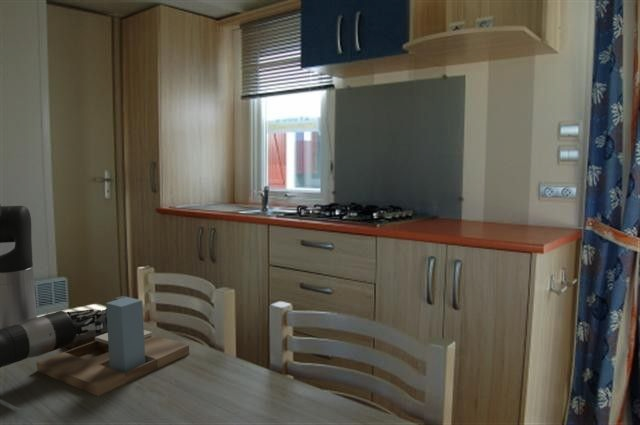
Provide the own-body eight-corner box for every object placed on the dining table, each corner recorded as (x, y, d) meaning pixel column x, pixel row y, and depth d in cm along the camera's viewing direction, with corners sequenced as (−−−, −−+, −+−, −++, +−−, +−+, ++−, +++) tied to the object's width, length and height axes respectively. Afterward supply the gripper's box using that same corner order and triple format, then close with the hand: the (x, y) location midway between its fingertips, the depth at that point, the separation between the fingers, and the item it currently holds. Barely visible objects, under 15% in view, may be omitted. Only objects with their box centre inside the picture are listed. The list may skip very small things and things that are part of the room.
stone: (71, 353, 113) (71, 341, 113) (53, 341, 121) (53, 329, 120) (143, 334, 126) (142, 323, 126) (122, 324, 134) (122, 313, 134)
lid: (95, 340, 114) (92, 299, 113) (128, 328, 121) (126, 290, 120) (119, 348, 109) (117, 305, 108) (152, 335, 117) (150, 295, 116)
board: (37, 373, 103) (36, 361, 102) (130, 338, 122) (129, 328, 122) (98, 398, 92) (97, 385, 91) (189, 355, 111) (188, 345, 111)
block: (110, 372, 102) (105, 303, 100) (130, 363, 106) (126, 296, 104) (125, 377, 99) (121, 306, 97) (145, 368, 103) (142, 300, 101)
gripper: (60, 322, 95) (135, 299, 110) (24, 311, 102) (99, 291, 116) (63, 359, 96) (137, 331, 110) (27, 345, 103) (101, 321, 117)
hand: (117, 311), depth 113 cm, fingers closed
